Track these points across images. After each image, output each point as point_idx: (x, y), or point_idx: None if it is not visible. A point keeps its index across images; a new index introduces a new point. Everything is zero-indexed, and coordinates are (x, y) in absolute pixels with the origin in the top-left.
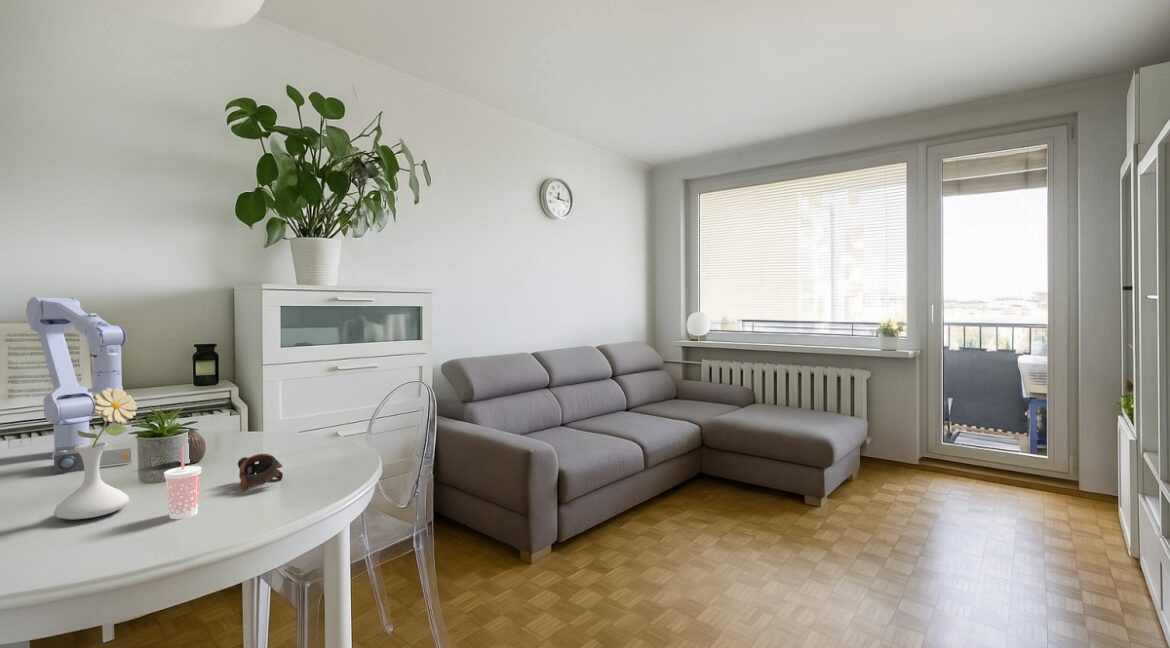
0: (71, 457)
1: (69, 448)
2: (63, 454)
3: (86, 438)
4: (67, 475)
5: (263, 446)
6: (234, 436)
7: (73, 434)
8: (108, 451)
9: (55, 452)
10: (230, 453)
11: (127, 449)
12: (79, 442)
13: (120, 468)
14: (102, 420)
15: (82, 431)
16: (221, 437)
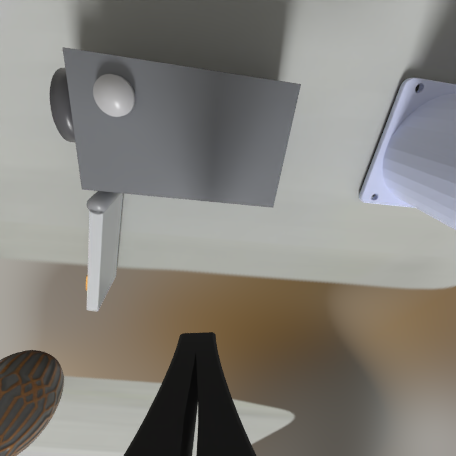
0: (60, 126)
1: (219, 134)
2: (71, 95)
3: (428, 212)
4: (46, 100)
5: (116, 452)
6: (263, 433)
7: (451, 176)
8: (89, 251)
9: (157, 64)
10: (86, 416)
11: (89, 298)
12: (412, 184)
13: (62, 244)
14: (202, 342)
15: (452, 215)
16: (276, 419)
